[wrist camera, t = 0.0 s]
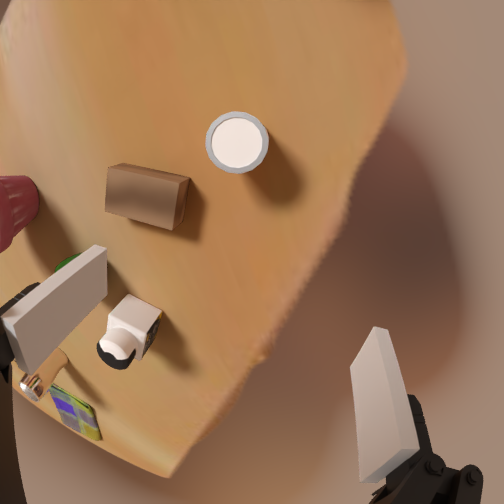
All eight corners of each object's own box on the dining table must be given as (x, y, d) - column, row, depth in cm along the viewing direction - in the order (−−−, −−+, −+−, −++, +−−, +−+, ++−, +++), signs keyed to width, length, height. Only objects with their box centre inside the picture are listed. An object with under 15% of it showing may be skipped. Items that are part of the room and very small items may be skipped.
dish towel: (95, 405, 71) (90, 412, 68) (102, 439, 81) (99, 444, 79) (49, 379, 71) (45, 384, 69) (63, 416, 82) (59, 421, 79)
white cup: (283, 151, 37) (280, 156, 31) (236, 174, 39) (224, 184, 33) (258, 104, 35) (248, 99, 29) (211, 130, 37) (193, 131, 31)
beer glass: (59, 343, 61) (25, 381, 47) (74, 365, 63) (43, 404, 50) (46, 345, 63) (14, 380, 49) (60, 365, 65) (31, 401, 52)
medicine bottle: (156, 337, 53) (128, 381, 42) (123, 320, 53) (91, 360, 42) (163, 310, 50) (132, 355, 39) (128, 292, 50) (91, 332, 39)
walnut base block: (123, 163, 41) (108, 167, 37) (190, 177, 40) (179, 183, 36) (119, 203, 43) (104, 211, 40) (182, 221, 43) (172, 230, 39)
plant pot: (56, 226, 47) (8, 254, 36) (19, 236, 50) (-23, 261, 38) (37, 152, 42) (-16, 167, 30) (2, 173, 45) (-44, 190, 33)
